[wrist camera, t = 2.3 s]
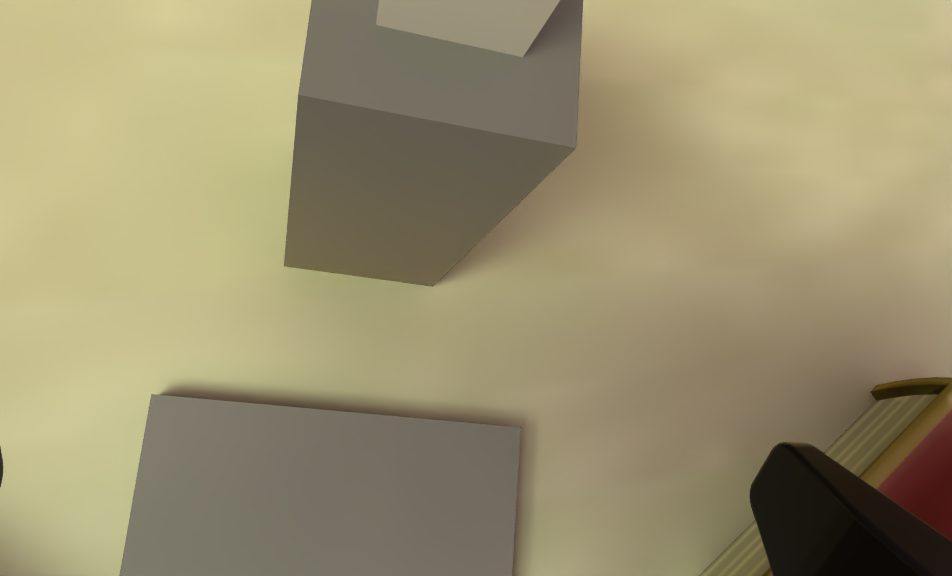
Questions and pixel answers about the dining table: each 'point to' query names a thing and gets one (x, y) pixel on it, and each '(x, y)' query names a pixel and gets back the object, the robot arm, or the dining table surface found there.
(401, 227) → the grey tall piece
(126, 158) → the dining table surface
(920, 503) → the hardcover book
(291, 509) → the plate
